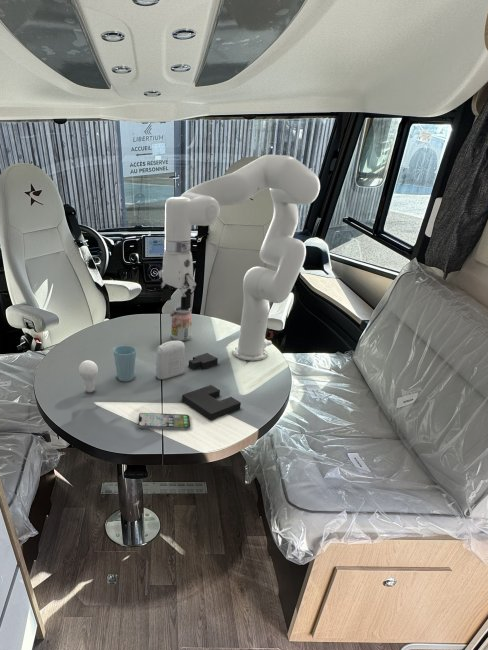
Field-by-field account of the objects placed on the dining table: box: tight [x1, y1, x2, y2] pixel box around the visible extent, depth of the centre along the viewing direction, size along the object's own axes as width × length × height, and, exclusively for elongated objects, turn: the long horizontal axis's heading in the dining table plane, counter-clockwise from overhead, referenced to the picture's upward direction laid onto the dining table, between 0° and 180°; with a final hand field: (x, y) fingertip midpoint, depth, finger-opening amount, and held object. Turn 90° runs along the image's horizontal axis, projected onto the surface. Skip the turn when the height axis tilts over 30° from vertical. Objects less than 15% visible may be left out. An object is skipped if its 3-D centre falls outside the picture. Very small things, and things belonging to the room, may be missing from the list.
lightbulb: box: [78, 359, 99, 393], centre depth 142 cm, size 6×6×11 cm
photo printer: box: [155, 340, 186, 380], centre depth 151 cm, size 10×4×12 cm, turn 123°
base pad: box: [181, 384, 242, 422], centre depth 138 cm, size 12×14×2 cm
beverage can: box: [169, 306, 193, 342], centre depth 179 cm, size 9×8×12 cm
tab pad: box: [188, 352, 219, 371], centre depth 161 cm, size 10×6×2 cm, turn 125°
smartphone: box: [138, 412, 191, 431], centre depth 130 cm, size 7×1×15 cm
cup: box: [113, 344, 137, 382], centre depth 150 cm, size 8×8×10 cm
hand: (175, 304), depth 139 cm, fingers open, 9 cm apart
